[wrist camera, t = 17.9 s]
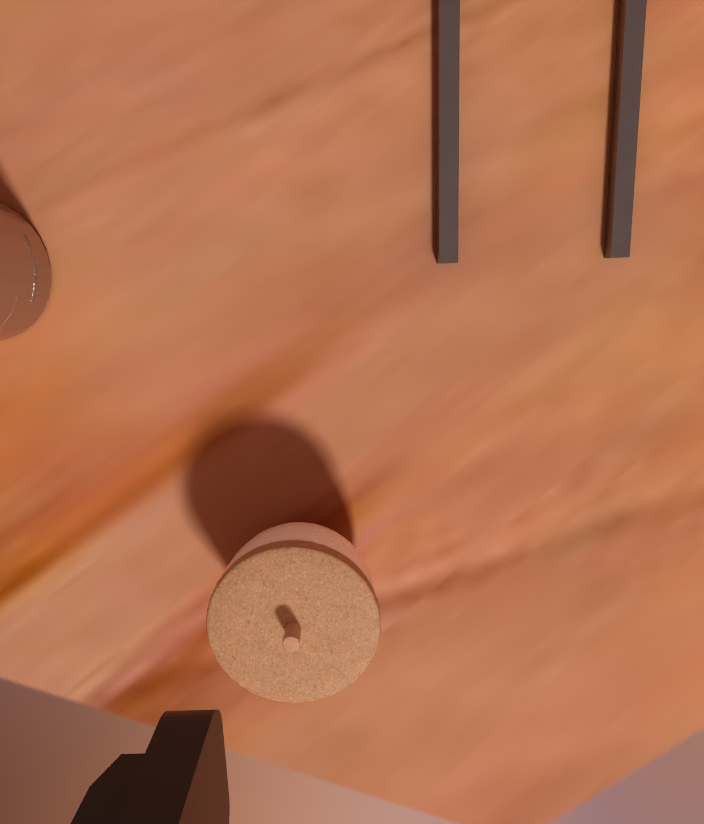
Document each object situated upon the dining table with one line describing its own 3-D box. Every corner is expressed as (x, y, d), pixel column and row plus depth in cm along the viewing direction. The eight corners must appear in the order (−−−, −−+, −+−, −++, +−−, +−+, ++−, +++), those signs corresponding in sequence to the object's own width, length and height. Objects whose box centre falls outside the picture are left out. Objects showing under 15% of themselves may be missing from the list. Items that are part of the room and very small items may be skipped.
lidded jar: (257, 478, 42) (232, 533, 33) (397, 528, 43) (410, 595, 34) (211, 606, 44) (175, 691, 35) (345, 651, 45) (344, 745, 36)
